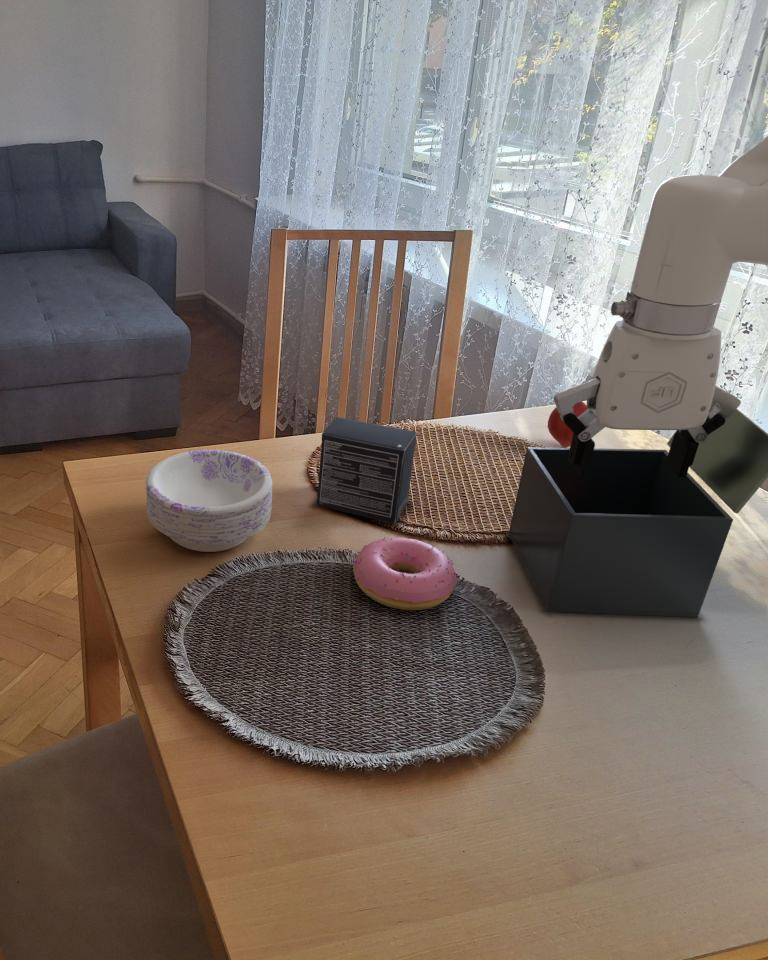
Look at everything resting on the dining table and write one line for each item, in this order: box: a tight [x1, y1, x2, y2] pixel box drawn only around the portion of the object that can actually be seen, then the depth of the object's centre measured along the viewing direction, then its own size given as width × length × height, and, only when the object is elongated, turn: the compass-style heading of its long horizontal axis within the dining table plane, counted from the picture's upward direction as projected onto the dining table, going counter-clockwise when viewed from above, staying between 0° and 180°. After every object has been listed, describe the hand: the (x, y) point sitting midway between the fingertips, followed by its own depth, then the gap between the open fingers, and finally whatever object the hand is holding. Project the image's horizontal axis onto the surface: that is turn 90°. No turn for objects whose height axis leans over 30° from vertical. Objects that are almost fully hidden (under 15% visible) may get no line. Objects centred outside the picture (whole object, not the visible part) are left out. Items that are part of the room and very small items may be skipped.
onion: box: [547, 401, 588, 448], centre depth 122 cm, size 6×6×8 cm
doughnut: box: [352, 536, 458, 611], centre depth 95 cm, size 11×11×4 cm
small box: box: [315, 416, 418, 525], centre depth 109 cm, size 11×6×10 cm, turn 59°
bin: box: [507, 446, 734, 618], centre depth 94 cm, size 15×15×12 cm
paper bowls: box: [145, 449, 273, 553], centre depth 105 cm, size 15×15×8 cm
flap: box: [666, 400, 768, 515], centre depth 88 cm, size 7×15×1 cm
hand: (626, 470), depth 90 cm, fingers open, 9 cm apart
